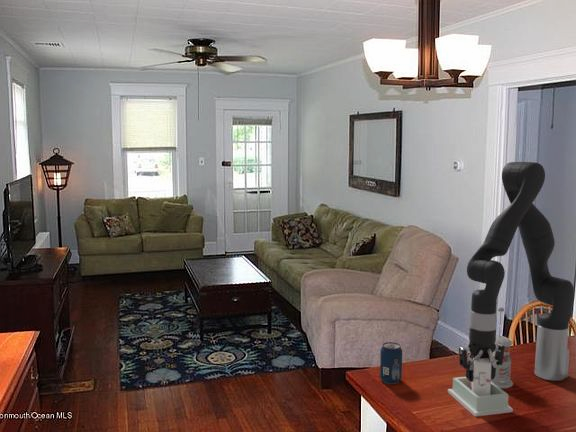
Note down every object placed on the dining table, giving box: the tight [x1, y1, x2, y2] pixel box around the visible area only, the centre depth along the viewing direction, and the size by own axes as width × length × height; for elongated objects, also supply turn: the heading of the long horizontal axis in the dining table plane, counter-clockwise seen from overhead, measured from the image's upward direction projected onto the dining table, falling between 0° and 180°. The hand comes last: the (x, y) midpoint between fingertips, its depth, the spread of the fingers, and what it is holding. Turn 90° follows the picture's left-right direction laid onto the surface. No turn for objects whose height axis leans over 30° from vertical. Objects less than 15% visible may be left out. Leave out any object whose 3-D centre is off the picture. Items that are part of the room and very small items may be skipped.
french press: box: [491, 306, 514, 389], centre depth 187 cm, size 10×12×25 cm
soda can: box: [379, 341, 403, 385], centre depth 188 cm, size 7×7×12 cm
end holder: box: [447, 376, 514, 417], centre depth 174 cm, size 12×16×5 cm
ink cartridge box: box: [471, 350, 491, 396], centre depth 173 cm, size 9×5×15 cm, turn 169°
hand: (480, 379), depth 173 cm, fingers closed on ink cartridge box, 6 cm apart
